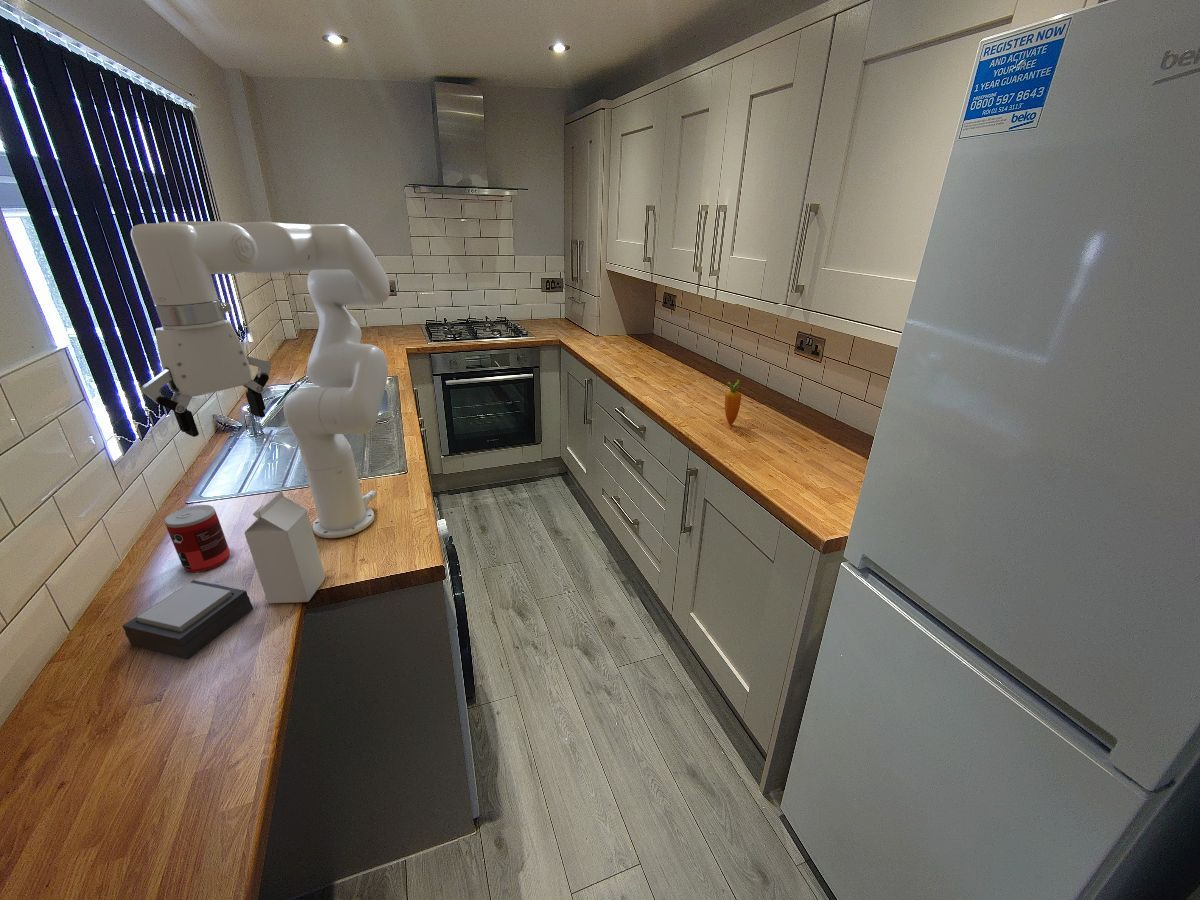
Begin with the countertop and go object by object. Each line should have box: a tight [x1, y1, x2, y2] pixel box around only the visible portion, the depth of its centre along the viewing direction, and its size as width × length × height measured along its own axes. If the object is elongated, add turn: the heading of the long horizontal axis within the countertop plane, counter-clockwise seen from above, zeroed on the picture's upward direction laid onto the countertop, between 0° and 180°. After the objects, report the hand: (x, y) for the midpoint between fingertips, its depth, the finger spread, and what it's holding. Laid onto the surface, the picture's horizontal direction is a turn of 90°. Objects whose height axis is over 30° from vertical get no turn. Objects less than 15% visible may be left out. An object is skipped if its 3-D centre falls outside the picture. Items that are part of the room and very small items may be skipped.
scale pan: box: [136, 582, 232, 633], centre depth 87 cm, size 9×9×2 cm
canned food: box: [164, 504, 231, 573], centre depth 103 cm, size 8×8×11 cm
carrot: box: [724, 379, 742, 426], centre depth 167 cm, size 5×5×15 cm
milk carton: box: [244, 490, 326, 604], centre depth 93 cm, size 7×7×19 cm
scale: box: [122, 579, 254, 660], centre depth 87 cm, size 12×12×4 cm
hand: (227, 424), depth 83 cm, fingers open, 9 cm apart
